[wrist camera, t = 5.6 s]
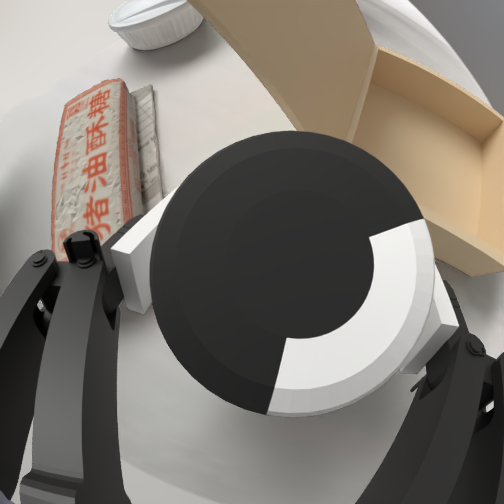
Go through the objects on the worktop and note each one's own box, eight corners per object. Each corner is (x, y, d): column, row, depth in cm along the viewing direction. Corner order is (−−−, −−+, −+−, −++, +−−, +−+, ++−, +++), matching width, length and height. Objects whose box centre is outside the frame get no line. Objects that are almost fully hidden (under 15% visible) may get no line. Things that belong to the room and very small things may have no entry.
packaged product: (46, 108, 17) (136, 57, 17) (73, 131, 22) (156, 91, 22) (33, 307, 14) (150, 276, 13) (75, 308, 19) (182, 282, 18)
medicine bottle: (201, 296, 17) (57, 284, 5) (275, 206, 17) (265, 52, 5) (292, 370, 15) (315, 505, 4) (366, 277, 16) (509, 234, 4)
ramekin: (158, 66, 22) (140, 30, 17) (109, 50, 24) (92, 24, 19) (231, 14, 23) (224, -19, 17) (172, 4, 25) (162, -22, 19)
